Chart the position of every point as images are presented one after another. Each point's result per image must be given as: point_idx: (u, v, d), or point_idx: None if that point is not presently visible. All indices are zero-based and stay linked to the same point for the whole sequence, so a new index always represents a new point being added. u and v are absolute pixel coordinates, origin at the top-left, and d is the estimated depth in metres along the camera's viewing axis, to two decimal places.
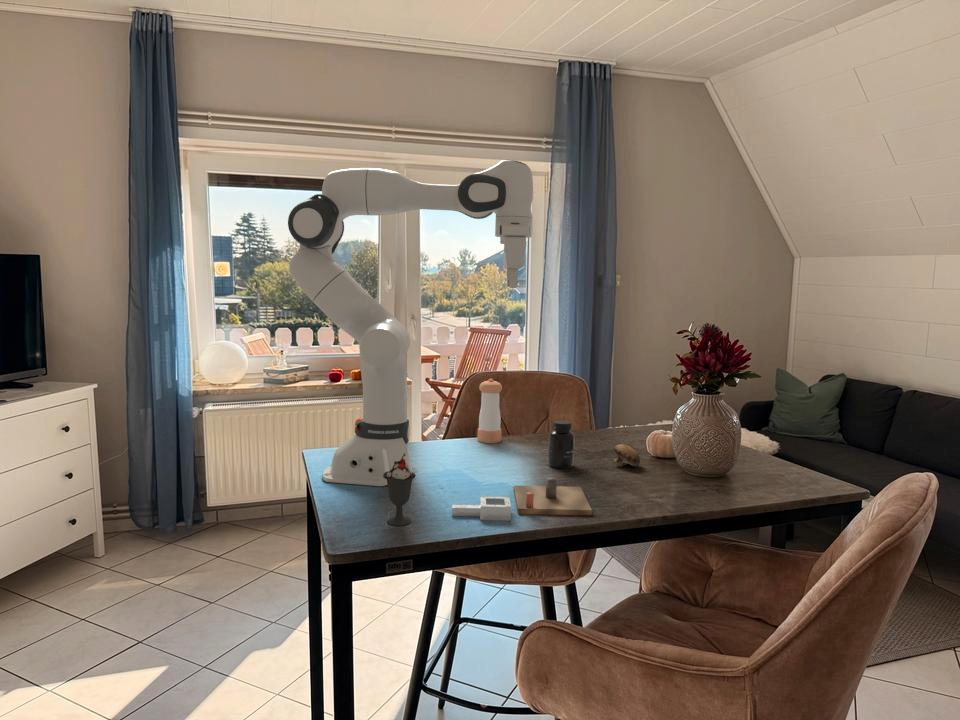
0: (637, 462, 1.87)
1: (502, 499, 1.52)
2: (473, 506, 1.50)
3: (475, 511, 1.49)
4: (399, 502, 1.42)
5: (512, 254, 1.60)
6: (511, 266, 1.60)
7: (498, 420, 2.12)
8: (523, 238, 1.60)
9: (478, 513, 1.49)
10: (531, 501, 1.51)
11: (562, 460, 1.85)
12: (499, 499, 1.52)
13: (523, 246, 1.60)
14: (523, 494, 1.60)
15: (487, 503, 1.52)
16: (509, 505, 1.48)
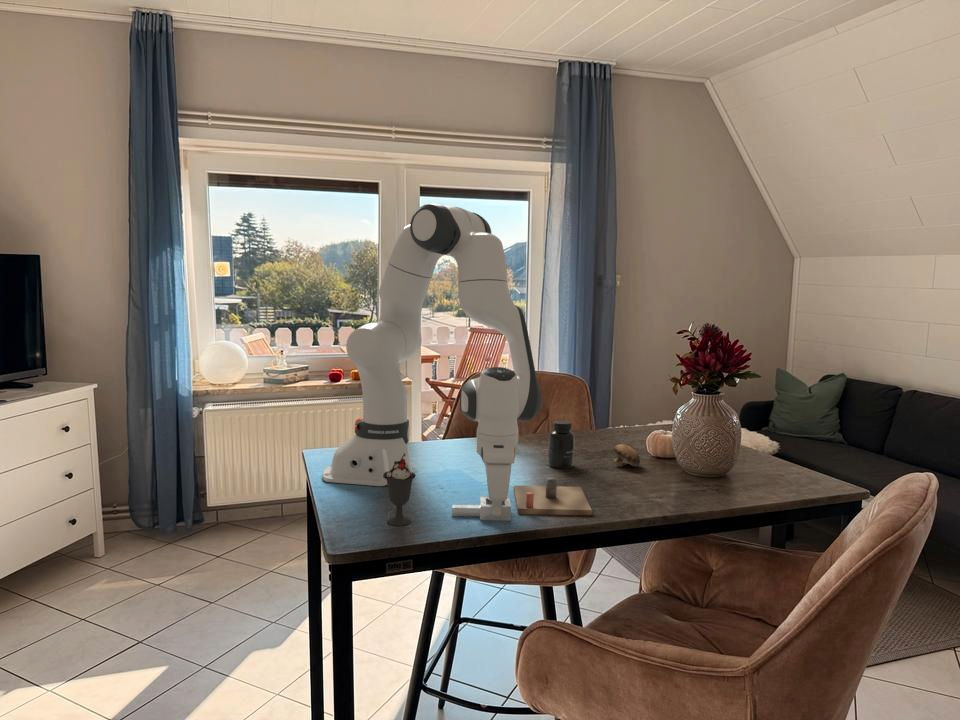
0: (637, 462, 1.87)
1: None
2: (473, 506, 1.50)
3: (475, 511, 1.49)
4: (399, 502, 1.42)
5: (495, 486, 1.39)
6: (494, 499, 1.40)
7: None
8: (507, 467, 1.40)
9: (478, 513, 1.49)
10: (531, 501, 1.51)
11: (562, 460, 1.85)
12: None
13: (507, 477, 1.39)
14: (523, 494, 1.60)
15: (487, 503, 1.52)
16: (509, 505, 1.48)
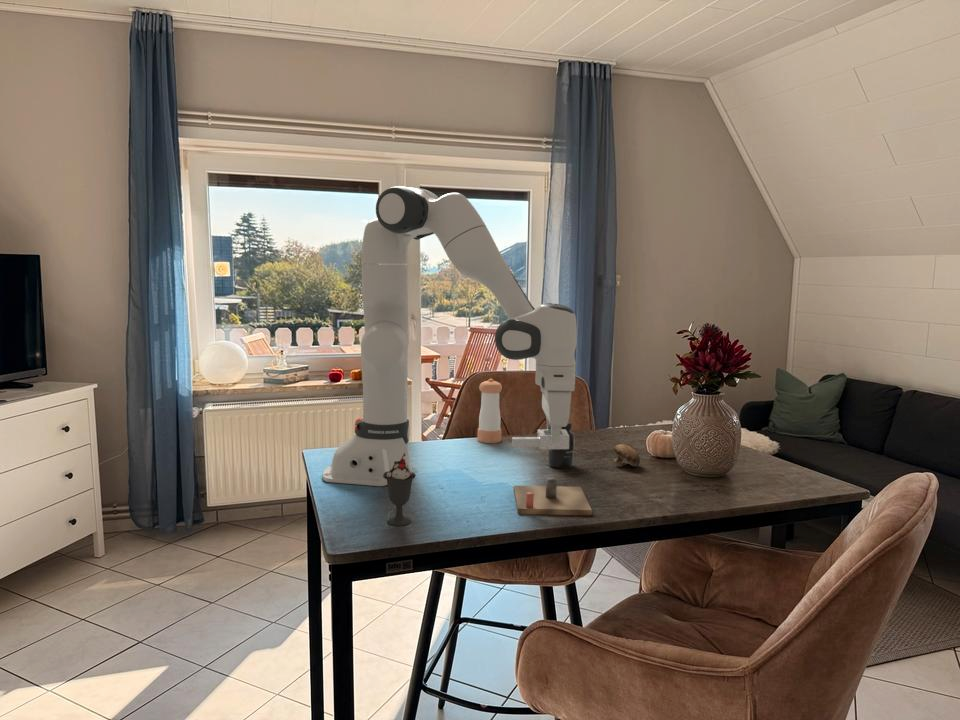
0: (637, 462, 1.87)
1: None
2: (532, 437, 1.57)
3: (535, 442, 1.56)
4: (399, 502, 1.42)
5: (557, 412, 1.46)
6: (555, 425, 1.47)
7: (498, 420, 2.12)
8: (568, 394, 1.47)
9: (537, 444, 1.56)
10: (531, 501, 1.51)
11: (562, 460, 1.85)
12: None
13: (568, 403, 1.46)
14: (523, 494, 1.60)
15: (545, 435, 1.59)
16: (567, 434, 1.55)
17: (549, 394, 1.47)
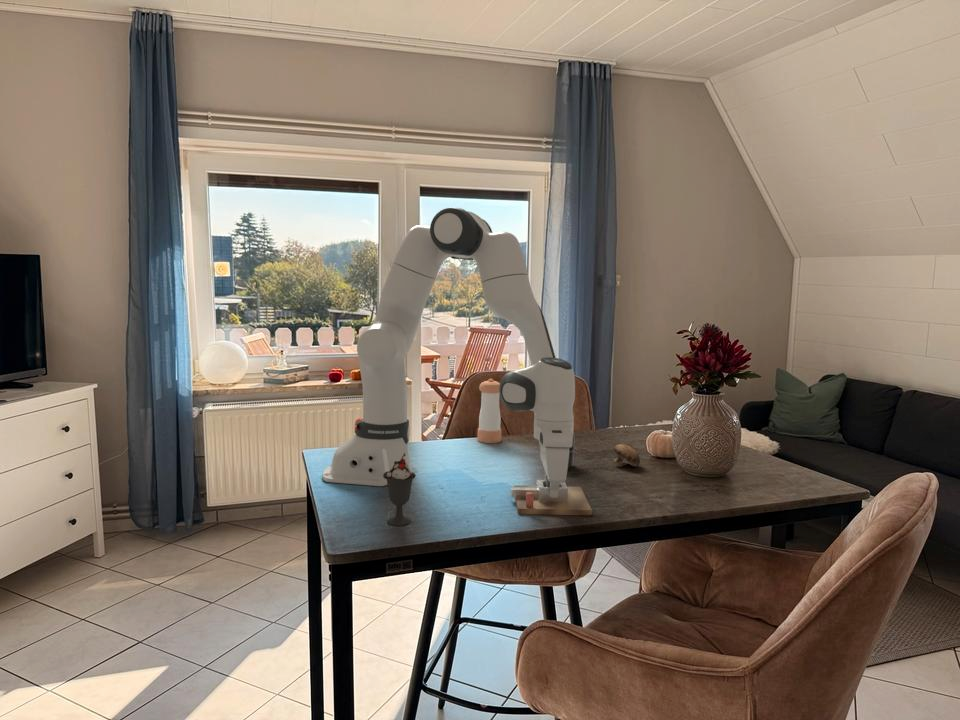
0: (637, 462, 1.87)
1: None
2: (531, 488, 1.59)
3: None
4: (399, 502, 1.42)
5: (555, 469, 1.48)
6: (553, 481, 1.48)
7: (498, 420, 2.12)
8: (566, 450, 1.49)
9: (536, 495, 1.58)
10: (531, 501, 1.51)
11: None
12: None
13: (566, 460, 1.48)
14: None
15: (543, 486, 1.61)
16: (566, 487, 1.57)
17: (547, 450, 1.49)
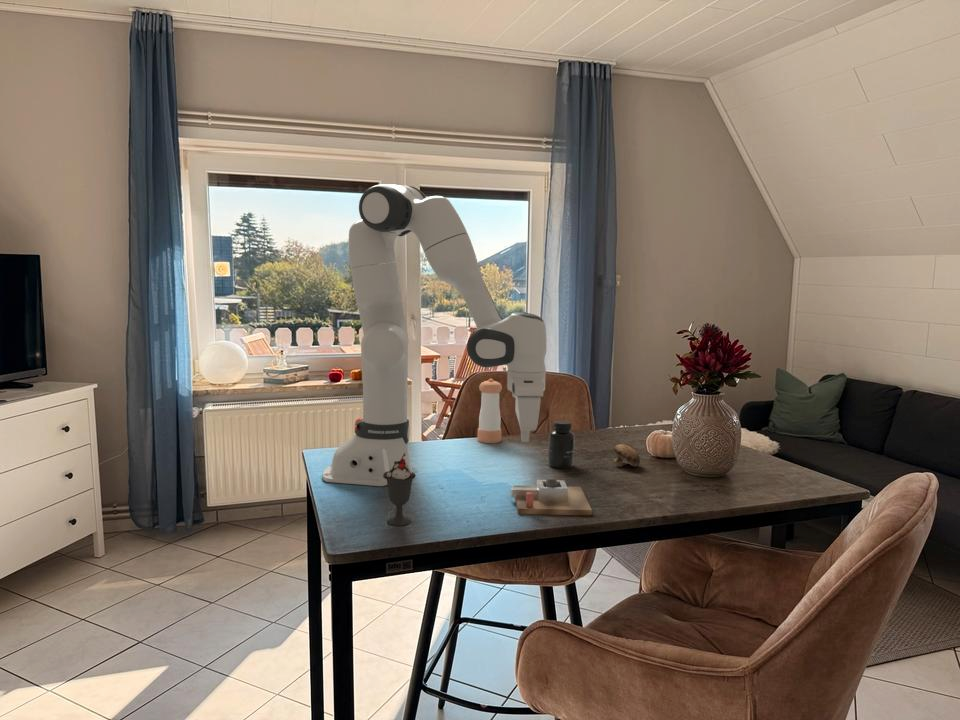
0: (637, 462, 1.87)
1: (557, 482, 1.61)
2: (531, 488, 1.59)
3: None
4: (399, 502, 1.42)
5: (526, 417, 1.53)
6: (525, 429, 1.53)
7: (498, 420, 2.12)
8: (537, 399, 1.54)
9: (536, 495, 1.58)
10: (531, 501, 1.51)
11: (562, 460, 1.85)
12: None
13: (537, 408, 1.53)
14: None
15: (543, 486, 1.61)
16: (566, 487, 1.57)
17: (519, 399, 1.54)
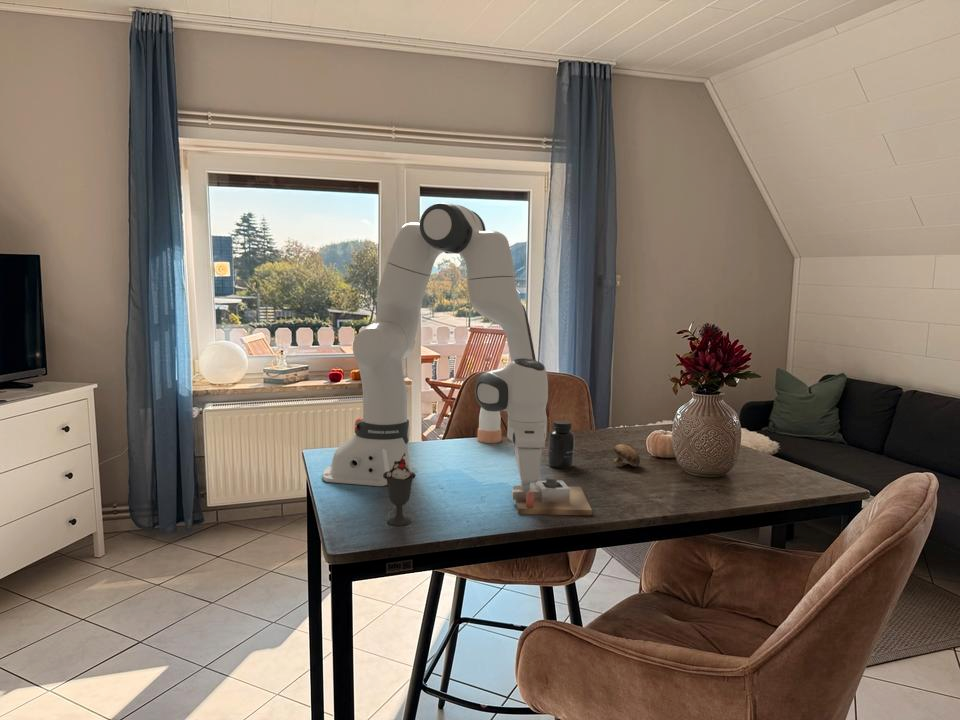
0: (637, 462, 1.87)
1: (557, 482, 1.61)
2: (532, 490, 1.58)
3: (535, 495, 1.57)
4: (399, 502, 1.42)
5: (527, 469, 1.49)
6: (525, 481, 1.50)
7: (498, 420, 2.12)
8: (538, 451, 1.50)
9: (537, 496, 1.57)
10: (531, 501, 1.51)
11: (562, 460, 1.85)
12: None
13: (538, 460, 1.49)
14: None
15: None
16: (567, 487, 1.56)
17: (520, 451, 1.50)
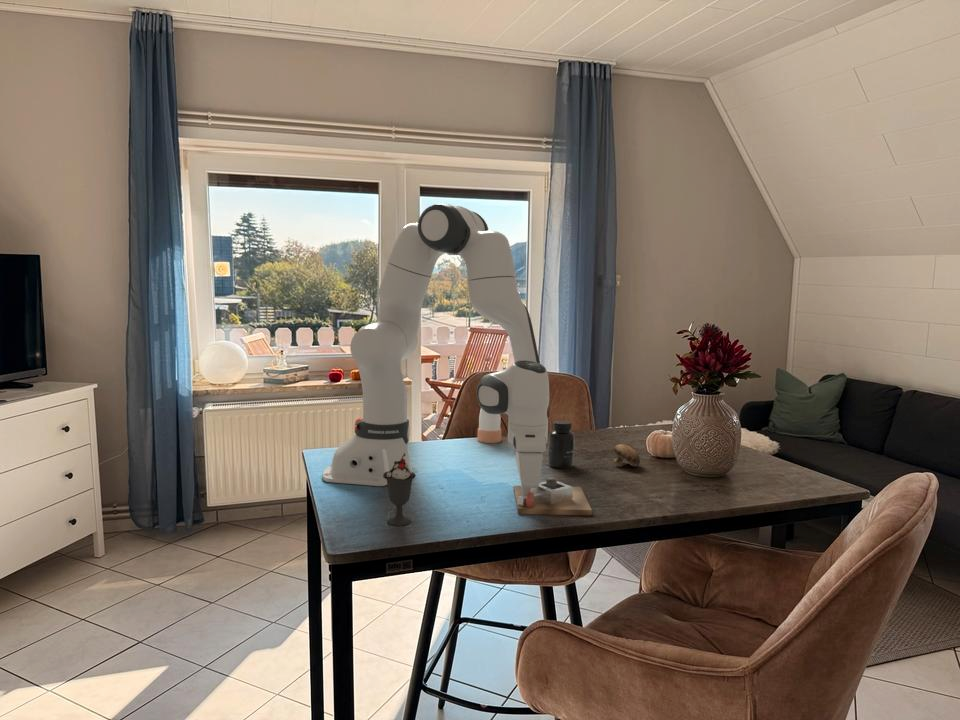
0: (637, 462, 1.87)
1: None
2: (536, 493, 1.55)
3: (540, 498, 1.55)
4: (399, 502, 1.42)
5: (528, 474, 1.46)
6: (526, 486, 1.46)
7: (498, 420, 2.12)
8: (539, 455, 1.47)
9: (542, 499, 1.55)
10: (531, 501, 1.51)
11: (562, 460, 1.85)
12: None
13: (539, 465, 1.46)
14: None
15: None
16: (569, 486, 1.58)
17: (520, 455, 1.47)
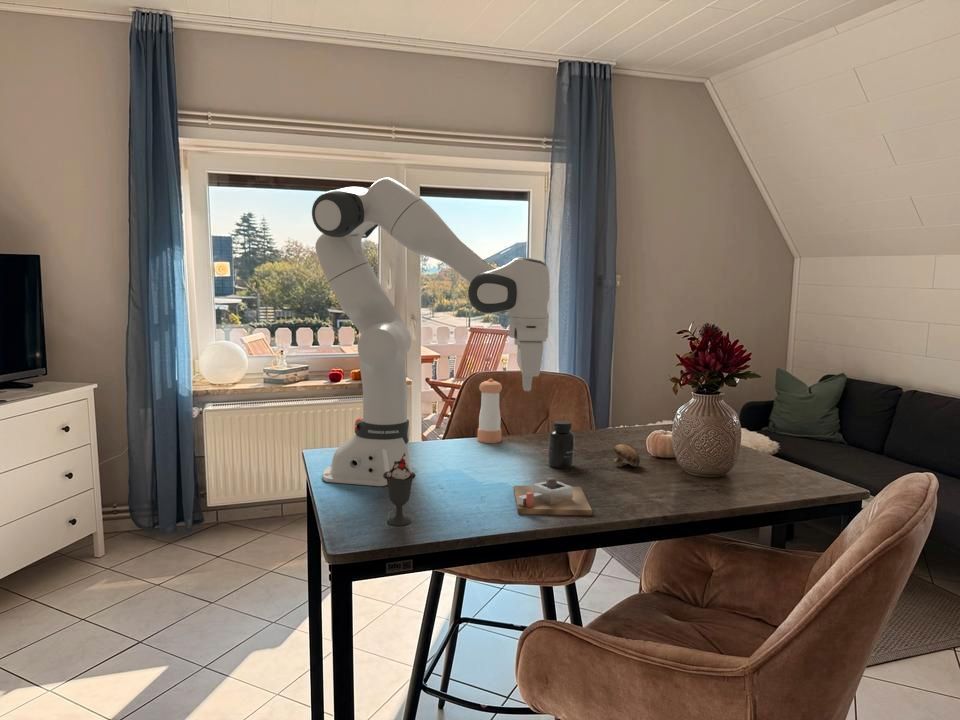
0: (637, 462, 1.87)
1: None
2: (536, 493, 1.55)
3: (540, 498, 1.55)
4: (399, 502, 1.42)
5: (529, 362, 1.49)
6: (527, 374, 1.49)
7: (498, 420, 2.12)
8: (540, 344, 1.50)
9: (542, 499, 1.55)
10: (531, 501, 1.51)
11: (562, 460, 1.85)
12: None
13: (540, 353, 1.49)
14: (523, 494, 1.60)
15: None
16: (569, 486, 1.58)
17: (521, 344, 1.49)
